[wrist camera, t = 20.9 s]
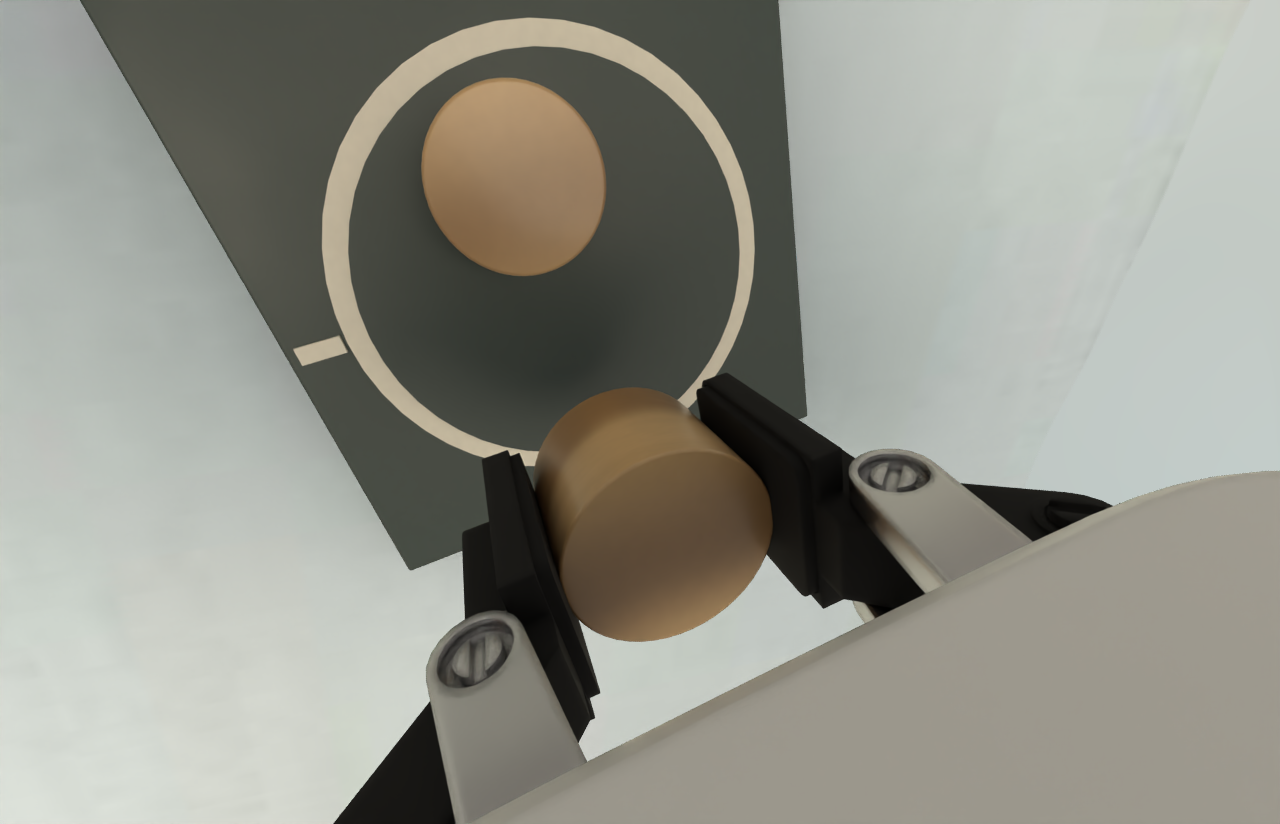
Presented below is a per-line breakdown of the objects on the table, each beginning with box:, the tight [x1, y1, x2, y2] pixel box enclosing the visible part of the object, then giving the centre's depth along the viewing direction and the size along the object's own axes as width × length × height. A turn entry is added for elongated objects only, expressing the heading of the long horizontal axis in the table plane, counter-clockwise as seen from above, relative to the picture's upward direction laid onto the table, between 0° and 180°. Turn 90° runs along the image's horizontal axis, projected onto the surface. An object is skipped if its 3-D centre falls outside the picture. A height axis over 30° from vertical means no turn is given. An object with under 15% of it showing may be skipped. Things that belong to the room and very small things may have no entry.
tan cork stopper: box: [533, 387, 773, 642], centre depth 10 cm, size 4×4×3 cm
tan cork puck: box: [421, 77, 606, 276], centre depth 13 cm, size 4×4×3 cm
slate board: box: [80, 0, 807, 570], centre depth 16 cm, size 16×16×1 cm
